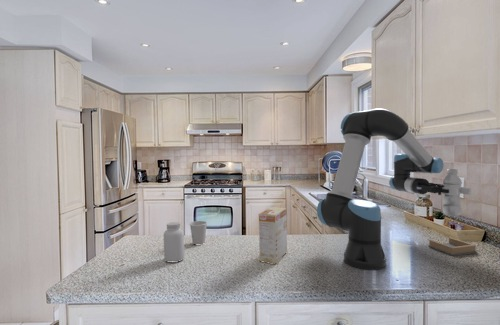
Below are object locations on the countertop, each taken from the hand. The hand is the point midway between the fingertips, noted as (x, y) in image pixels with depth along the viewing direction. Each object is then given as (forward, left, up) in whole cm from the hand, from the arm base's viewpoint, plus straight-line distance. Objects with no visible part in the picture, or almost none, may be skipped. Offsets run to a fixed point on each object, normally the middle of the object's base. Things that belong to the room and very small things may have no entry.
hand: (463, 191), depth 114 cm
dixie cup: (-105, +46, -26) cm, 118 cm away
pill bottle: (-116, +28, -26) cm, 122 cm away
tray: (0, +5, -26) cm, 26 cm away
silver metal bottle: (0, +5, -11) cm, 12 cm away
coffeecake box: (-76, +19, -26) cm, 83 cm away
